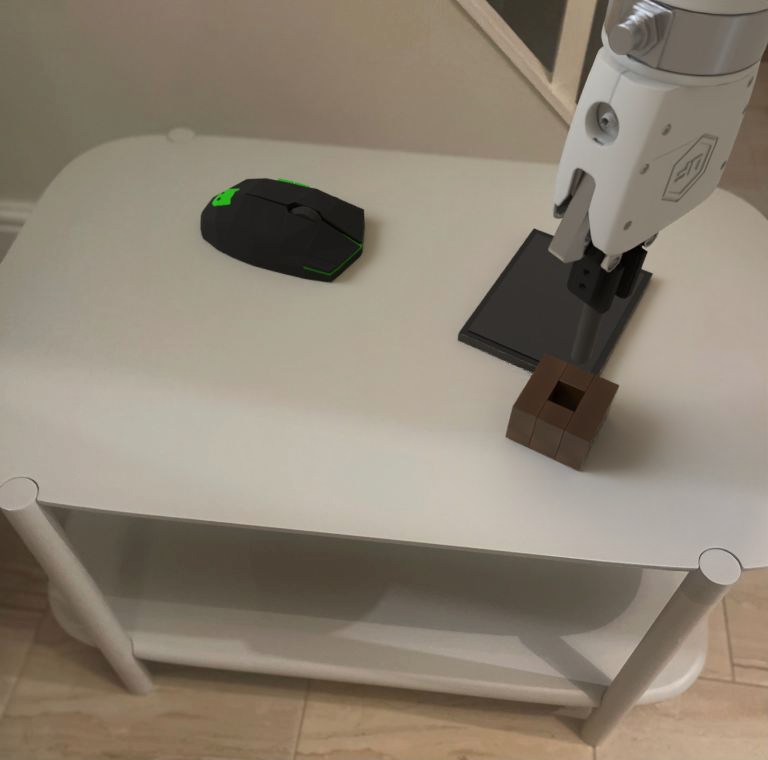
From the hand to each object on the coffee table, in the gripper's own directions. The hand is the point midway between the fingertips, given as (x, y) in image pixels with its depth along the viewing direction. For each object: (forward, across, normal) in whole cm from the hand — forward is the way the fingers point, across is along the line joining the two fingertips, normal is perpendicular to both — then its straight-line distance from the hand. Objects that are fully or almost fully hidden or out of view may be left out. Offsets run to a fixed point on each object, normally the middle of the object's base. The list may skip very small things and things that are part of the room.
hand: (598, 291), depth 51 cm
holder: (+15, 0, 0) cm, 15 cm away
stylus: (+6, 0, 0) cm, 6 cm away
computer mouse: (+15, -3, +33) cm, 36 cm away
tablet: (+15, +10, +9) cm, 20 cm away
